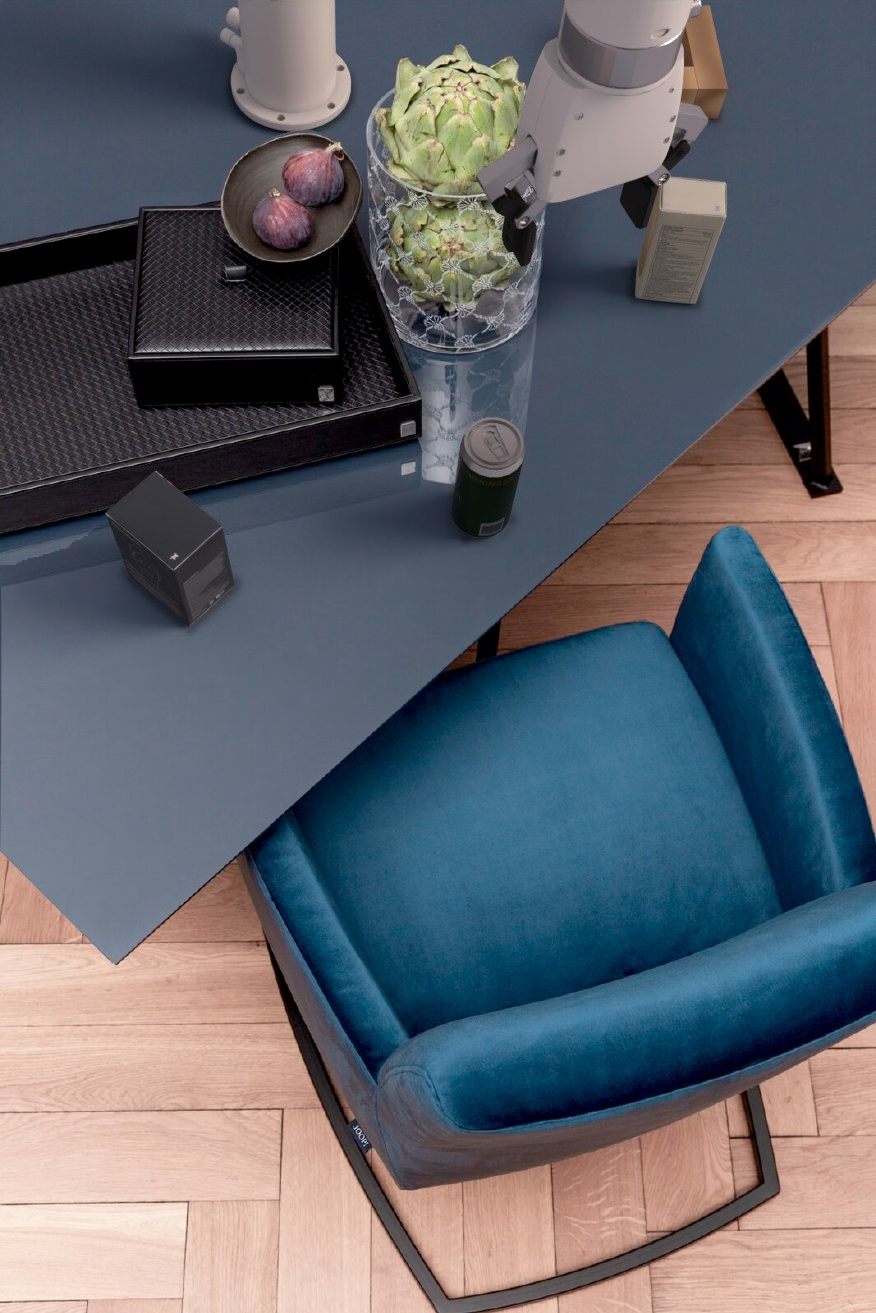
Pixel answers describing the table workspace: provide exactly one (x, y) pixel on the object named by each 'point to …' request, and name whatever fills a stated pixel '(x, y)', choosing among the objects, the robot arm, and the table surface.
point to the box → (172, 547)
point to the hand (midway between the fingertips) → (575, 233)
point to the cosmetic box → (680, 239)
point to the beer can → (487, 477)
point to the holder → (703, 66)
